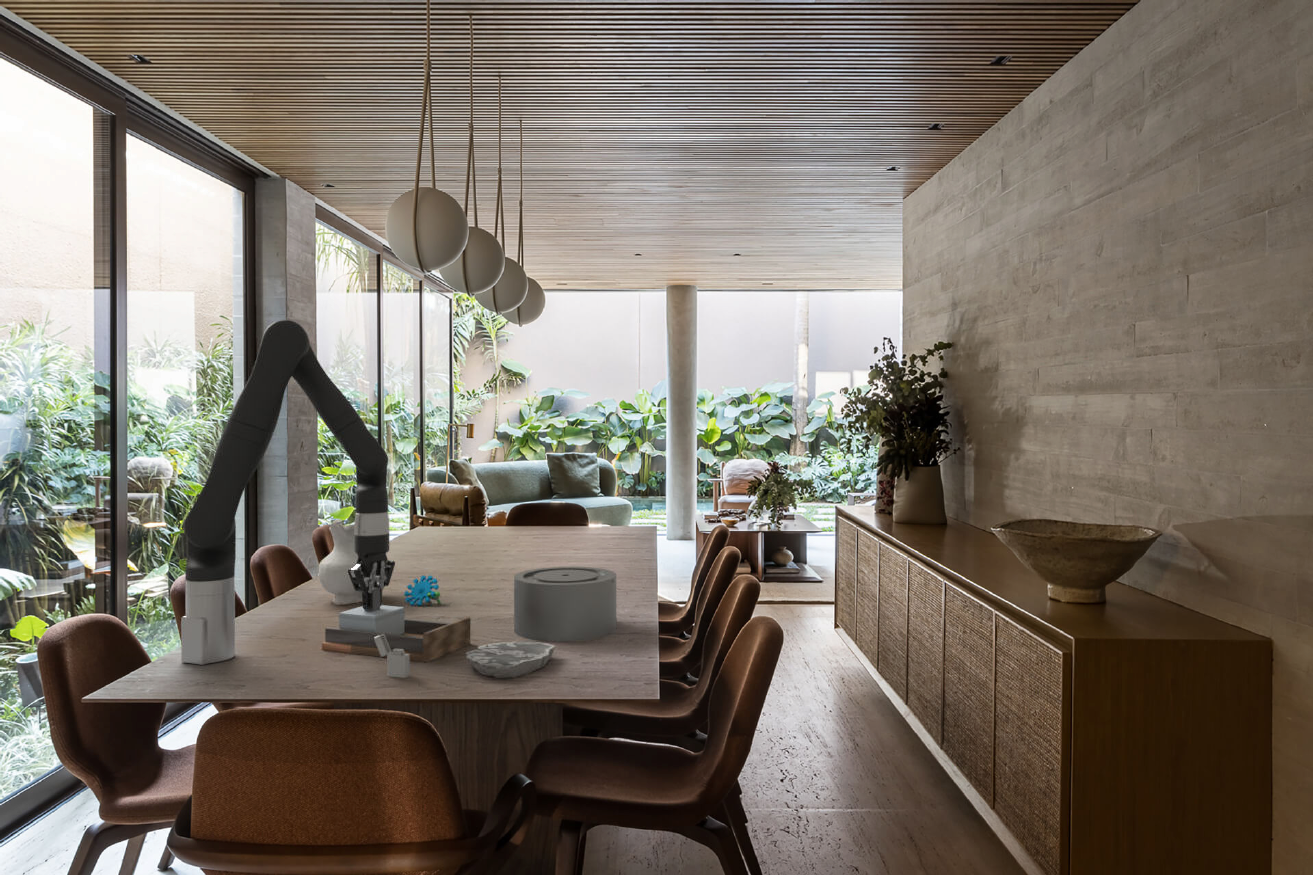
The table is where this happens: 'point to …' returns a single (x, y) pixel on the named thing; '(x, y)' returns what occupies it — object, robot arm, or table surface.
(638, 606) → the table surface
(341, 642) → the bay
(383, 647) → the lighter
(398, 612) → the block with peg
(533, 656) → the grey flat stone
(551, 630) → the container
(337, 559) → the white scalloped vase
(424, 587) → the blue spiky round piece
